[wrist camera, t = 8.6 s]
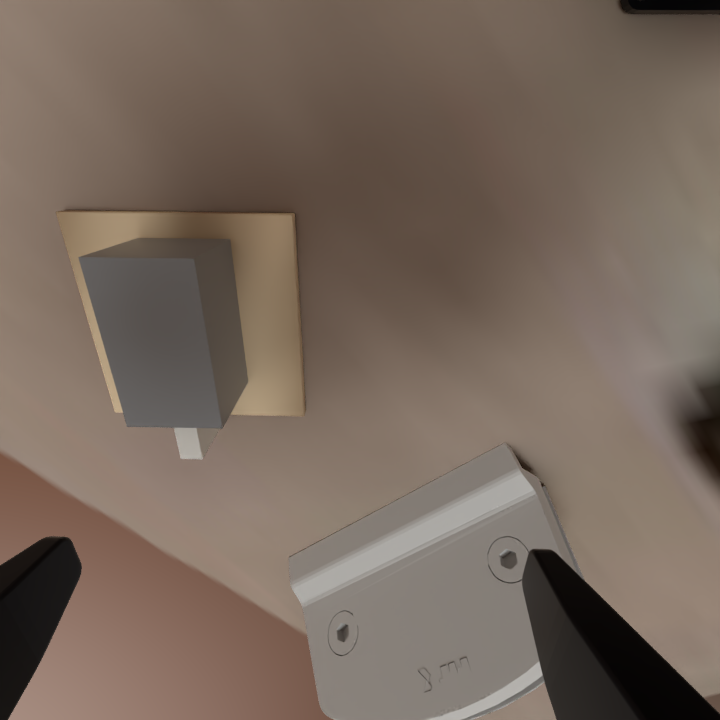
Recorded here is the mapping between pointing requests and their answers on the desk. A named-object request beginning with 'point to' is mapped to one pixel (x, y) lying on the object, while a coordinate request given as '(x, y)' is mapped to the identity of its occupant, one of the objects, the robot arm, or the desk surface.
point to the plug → (171, 333)
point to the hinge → (430, 597)
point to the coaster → (253, 283)
